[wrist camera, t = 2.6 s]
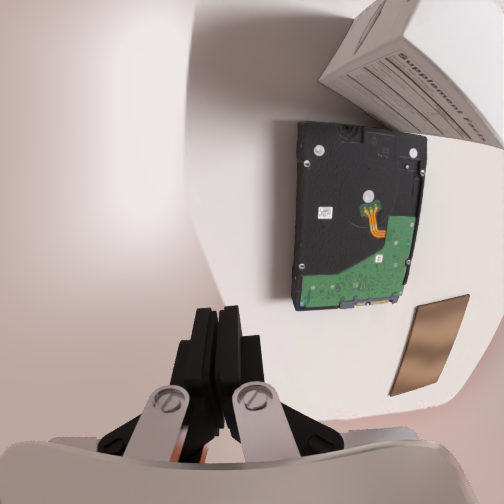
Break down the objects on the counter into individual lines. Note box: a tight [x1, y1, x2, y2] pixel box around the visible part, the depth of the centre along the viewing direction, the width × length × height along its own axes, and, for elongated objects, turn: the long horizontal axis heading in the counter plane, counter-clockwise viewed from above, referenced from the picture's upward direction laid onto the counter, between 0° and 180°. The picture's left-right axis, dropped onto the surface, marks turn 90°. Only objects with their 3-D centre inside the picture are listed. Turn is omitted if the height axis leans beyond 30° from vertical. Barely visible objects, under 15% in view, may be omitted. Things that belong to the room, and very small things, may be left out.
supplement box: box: [319, 0, 504, 149], centre depth 12 cm, size 7×7×13 cm
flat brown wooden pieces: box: [390, 294, 470, 397], centre depth 24 cm, size 41×8×1 cm, turn 5°
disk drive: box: [291, 121, 427, 311], centre depth 22 cm, size 10×3×15 cm
